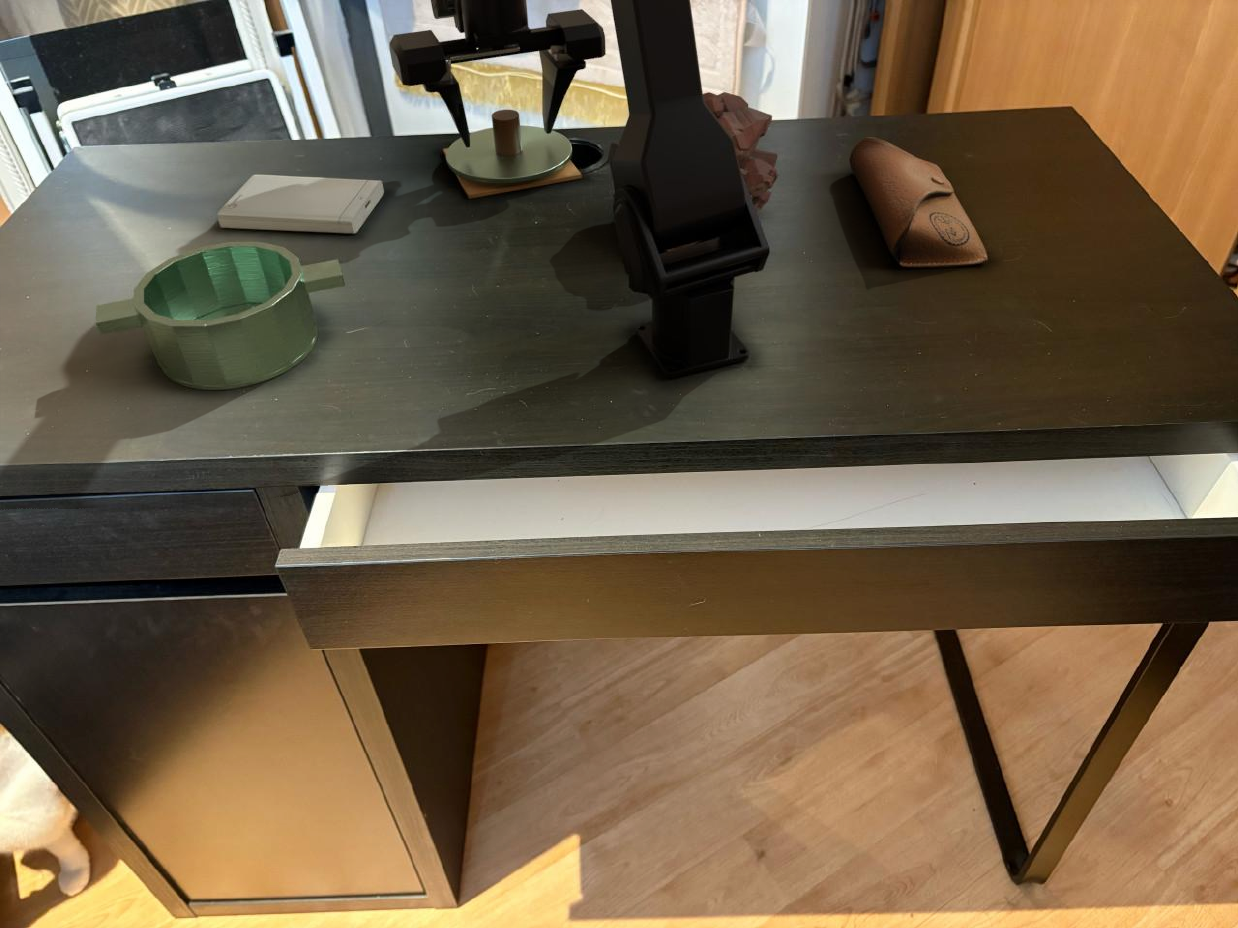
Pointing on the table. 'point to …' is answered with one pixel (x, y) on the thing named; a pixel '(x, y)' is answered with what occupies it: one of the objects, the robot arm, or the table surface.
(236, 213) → the hard drive
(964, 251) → the sunglasses case
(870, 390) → the table surface
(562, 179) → the coaster pad
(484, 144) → the tin lid
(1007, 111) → the table surface
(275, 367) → the green cooking pot
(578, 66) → the robot arm
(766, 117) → the mineral specimen
